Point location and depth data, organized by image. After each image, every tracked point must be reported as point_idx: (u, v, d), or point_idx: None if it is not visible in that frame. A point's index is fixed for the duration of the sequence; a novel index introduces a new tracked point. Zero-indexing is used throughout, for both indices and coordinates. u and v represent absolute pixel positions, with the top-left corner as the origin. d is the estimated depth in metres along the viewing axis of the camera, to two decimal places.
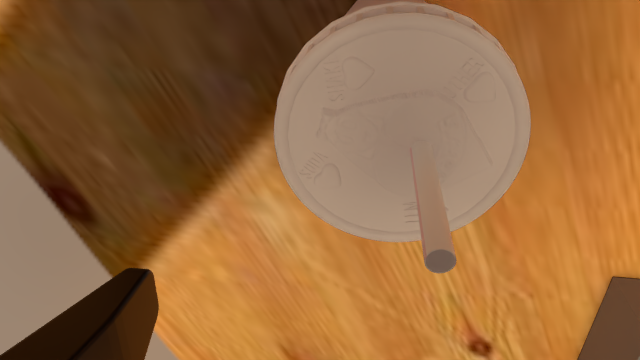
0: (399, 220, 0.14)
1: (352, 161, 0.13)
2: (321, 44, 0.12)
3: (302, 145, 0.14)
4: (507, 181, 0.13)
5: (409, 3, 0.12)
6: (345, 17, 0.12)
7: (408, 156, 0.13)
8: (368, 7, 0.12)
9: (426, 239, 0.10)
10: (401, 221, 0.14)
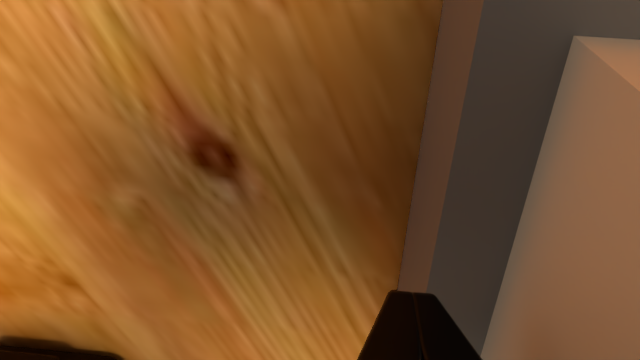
0: None
1: None
2: None
3: None
4: None
5: None
6: None
7: None
8: None
9: None
10: None
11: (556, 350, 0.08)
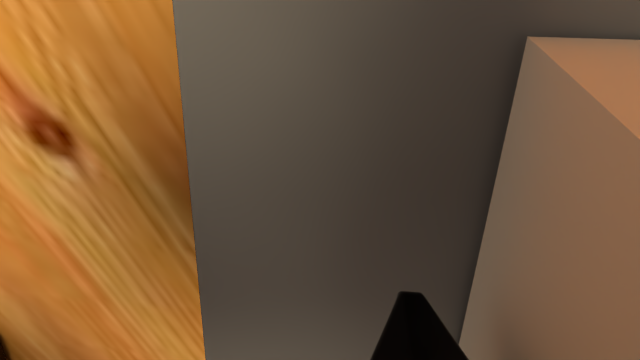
0: None
1: None
2: None
3: None
4: None
5: None
6: None
7: None
8: None
9: None
10: None
11: (524, 349, 0.08)
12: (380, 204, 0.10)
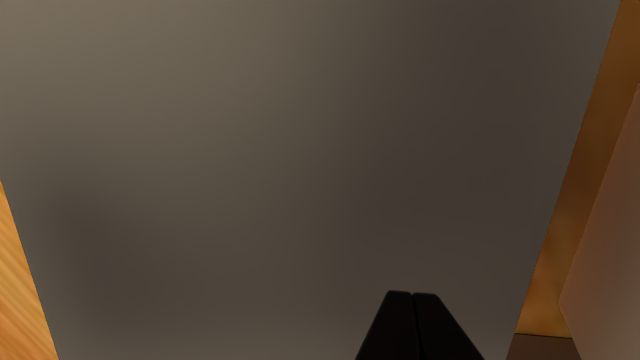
0: None
1: None
2: None
3: None
4: None
5: None
6: None
7: None
8: None
9: None
10: None
11: None
12: (194, 199, 0.10)
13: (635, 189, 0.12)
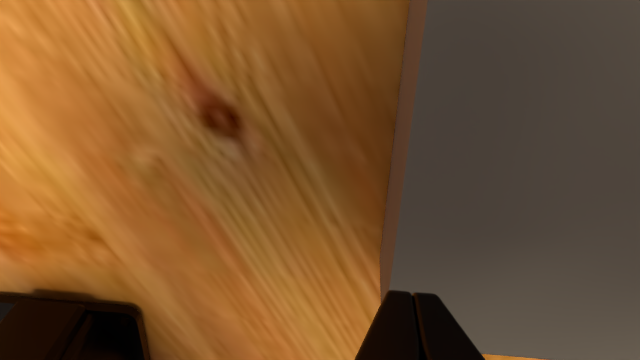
0: None
1: None
2: None
3: None
4: None
5: None
6: None
7: None
8: None
9: None
10: None
11: None
12: (576, 164, 0.12)
13: None
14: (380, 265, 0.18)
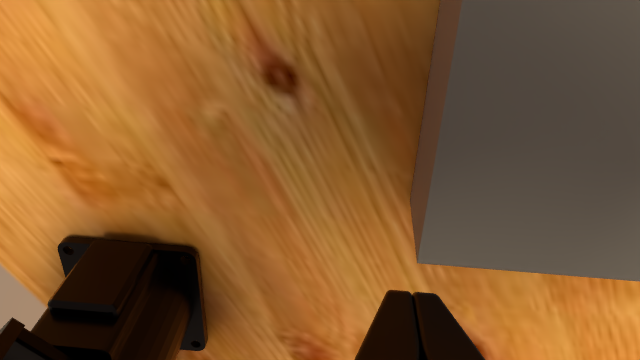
0: None
1: None
2: None
3: None
4: None
5: None
6: None
7: None
8: None
9: None
10: None
11: None
12: (580, 101, 0.15)
13: None
14: (411, 206, 0.21)
